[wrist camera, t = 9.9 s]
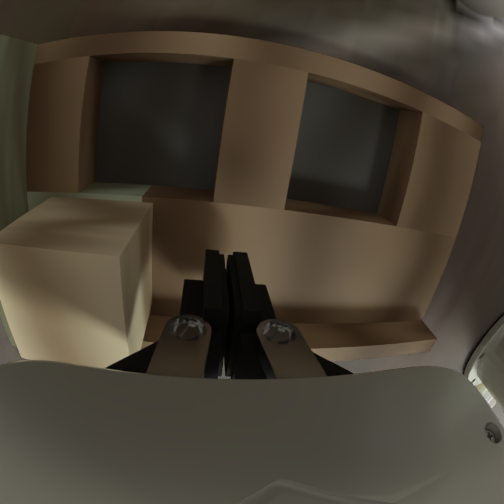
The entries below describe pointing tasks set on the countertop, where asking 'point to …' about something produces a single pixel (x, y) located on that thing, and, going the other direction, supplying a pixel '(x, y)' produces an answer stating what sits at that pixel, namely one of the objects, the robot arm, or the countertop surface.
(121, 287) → the block
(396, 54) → the countertop surface
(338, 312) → the track
